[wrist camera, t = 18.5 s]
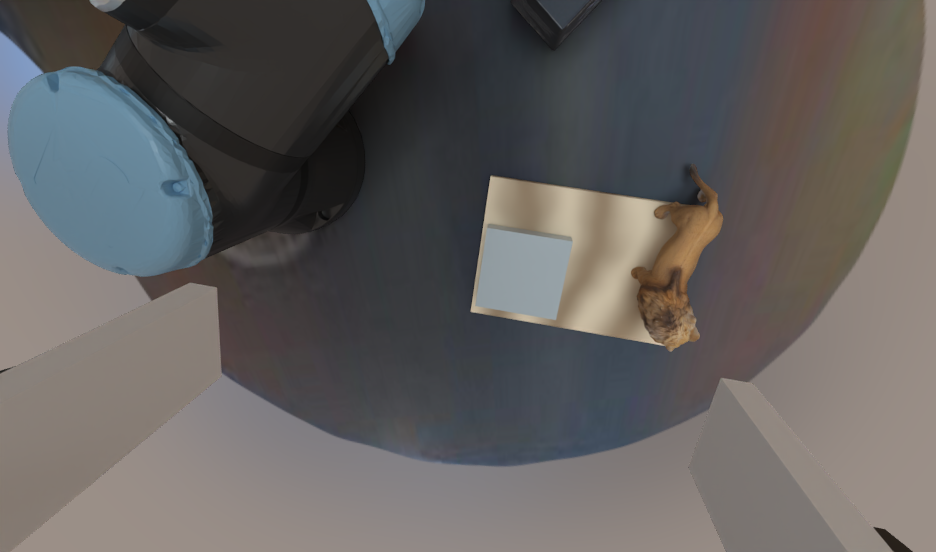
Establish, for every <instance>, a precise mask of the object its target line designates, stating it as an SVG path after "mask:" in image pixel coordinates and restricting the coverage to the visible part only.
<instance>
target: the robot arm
mask: <svg viewBox="0 0 936 552" xmlns="http://www.w3.org/2000/svg"><path fill="white" fill-rule="evenodd" d="M90 2H91V4H92V5H94V6H95V7H96V8H98V9H99V10H101V11H103V12H105V13H107V14H108V15H110V16H112V17H114V18H115V19H117V20H119V21H121V22H122V23H124V24H125V26H124V27H123V29H122V31H121V33H120V34H119V36H118V38H117V39H116V41H115V43H114V44H113V46H112V48H111V49H110V51H109V53H108V54H107V56H106V58H105V60H104V61H103V63H102V65H101V66H100V67H99V68H98V69H97V70H93V69H87V68H82V67H67V68H64V69H62V70H58V71H56V72H48V73H44V74H41V75H39V76H37V77H35V78H33V79H32V80H31V81H29V82H28V83H27V84H26V85H25V86H24V87H23V88H22V89H21V90H20V91H19V93H18V94H17V96H16V98H15V100H14V102H13V104H12V107H11V111H10V116H9V120H8V145H9V151H10V156H11V159H12V164H13V168H14V171H15V174H16V175H17V177H18V178H19V180H20V182H21V184H22V187H23V190H24V193H25V196H26V197H27V199H28V201H29V203H30V204H31V206H32V208H33V209H34V210H35V212H36V213H37V215H38V216H39V217H40V219H41V220H42V221H43V222H44V224H45V225H46V226H47V227H48V228H49V230H50V231H51V232H52V233H53V234H54V235H55V236H56V237H57V238H58V239H59V240H60V241H61V242H63V243H64V244H65V245H66V246H67V247H68V248H70V249H71V250H72V251H74V252H75V253H77V254H78V255H80V256H81V257H82V258H84V259H86V260H87V261H89V262H91V263H93V264H95V265H97V266H99V267H101V268H103V269H106V270H109V271H112V272H115V273H119V274H124V275H126V274H129V275H137V276H141V277H143V276H154V275H159V274H163V273H166V272H170V271H174V270H177V269H183V268H188V267H191V266H194V265H197V264H198V263H199V262H200V261H201V260H203V259H205V258H207V257H209V256H212V255H214V254H216V253H219V252H221V251H223V250H225V249H228V248H230V247H232V246H235V245H237V244H239V243H241V242H244V241H246V240H248V239H251V238H253V237H255V236H257V235H260V234H262V233H264V232H266V231H270V232H277V233H284V234H300V233H306V232H311V231H314V230H317V229H320V228H322V227H324V226H326V225H328V224H330V223H332V222H333V221H335V220H337V219H338V218H339V217H341V216H342V215H343V214H344V213H345V212H346V211H347V210H348V209H349V208H350V206H351V205H352V204H353V202H354V201H355V199H356V197H357V195H358V193H359V191H360V188H361V185H362V182H363V177H364V170H365V154H364V147H363V142H362V138H361V135H360V132H359V129H358V127H357V125H356V123H355V121H354V119H353V117H352V115H351V114H350V112H349V111H348V110H349V108H350V107H351V106H352V105H353V104H354V102H355V101H356V100H357V99H358V97H359V96H360V95H361V94H362V93H363V91H364V90H365V89H366V88H367V86H368V85H369V84H370V83H371V81H372V80H373V79H374V78H375V77H376V75H377V74H378V73H379V72H380V70H381V69H382V68H383V67H384V66H385V64H386V63H387V64H388V65H390V64H391V63H392V62H393V61H394V59H395V52H396V51H397V50H398V48H399V47H400V46H401V44H402V43H403V42H404V40H405V39H406V37H407V36H408V35H409V33H410V32H411V31H412V29H413V28H414V27H415V25H416V24H417V23H418V21H419V20H420V18H421V16H422V14H423V11H424V7H425V0H90ZM221 376H222V375H221V357H220V338H219V319H218V301H217V287H211V286H205V285H200V284H194V283H188V284H186V285H184V286H182V287H180V288H178V289H176V290H174V291H172V292H170V293H168V294H165V295H163V296H161V297H159V298H157V299H155V300H153V301H151V302H149V303H147V304H145V305H143V306H140V307H138V308H136V309H134V310H132V311H130V312H128V313H126V314H124V315H122V316H120V317H117V318H115V319H113V320H111V321H109V322H107V323H105V324H103V325H101V326H99V327H97V328H94V329H92V330H91V331H88V332H86V333H84V334H82V335H80V336H78V337H76V338H74V339H71V340H69V341H67V342H65V343H63V344H61V345H59V346H57V347H55V348H53V349H51V350H48V351H47V352H44V353H42V354H40V355H38V356H36V357H34V358H32V359H30V360H28V361H25V362H23V363H21V364H19V365H17V366H14V367H12V368H8V369H5V370H2V371H0V552H10V551H12V550H13V549H14V548H15V547H16V546H18V545H19V544H20V543H21V542H22V541H24V540H25V539H26V538H27V537H28V536H30V535H31V534H32V533H33V532H34V531H35V530H37V529H38V528H39V527H40V526H42V525H43V524H44V523H45V522H47V521H48V520H49V519H50V518H51V517H53V516H54V515H55V514H56V513H57V512H59V511H60V510H61V509H62V508H63V507H65V506H66V505H67V504H68V503H69V502H71V501H72V500H73V499H74V498H75V497H76V496H78V495H79V494H80V493H81V492H83V491H84V490H85V489H86V488H88V487H89V486H90V485H91V484H92V483H94V482H95V481H96V480H97V479H98V478H100V477H101V476H102V475H103V474H104V473H106V472H107V471H108V470H109V469H110V468H112V467H113V466H114V465H115V464H116V463H117V462H119V461H120V460H121V459H122V458H123V457H125V456H126V455H127V454H129V453H130V452H131V451H132V450H133V449H135V448H136V447H137V446H138V445H139V444H140V443H142V442H143V441H144V440H145V439H147V438H148V437H149V436H150V435H151V434H153V433H154V432H155V431H156V430H158V429H159V428H160V427H161V426H162V425H163V424H165V423H166V422H167V421H168V420H170V419H171V418H172V417H173V416H174V415H175V414H177V413H178V412H179V411H180V410H182V409H183V408H184V407H185V406H186V405H188V404H189V403H190V402H191V401H192V400H194V399H195V398H196V397H197V396H198V395H200V394H201V393H202V392H203V391H205V390H206V389H207V388H208V387H209V386H211V385H212V384H213V383H214V382H215V381H217V380H218V379H219V378H220V377H221ZM688 468H689V470H690V473H691V475H692V477H693V479H694V481H695V484H696V486H697V488H698V490H699V493H700V495H701V497H702V499H703V502H704V504H705V506H706V508H707V511H708V513H709V515H710V517H711V519H712V522H713V524H714V526H715V528H716V531H717V533H718V535H719V537H720V540H721V542H722V544H723V546H724V548H725V551H726V552H912V551H911V550H910V549H909V548H907V547H906V546H905V545H904V544H903V543H901V542H900V541H899V540H898V539H896V538H895V537H894V536H892V535H891V534H890V533H889V532H888V531H886V530H885V529H881V528H875V527H872V526H871V524H870V523H869V522H868V521H867V520H866V518H865V517H864V516H863V515H862V513H861V512H860V511H859V510H858V509H857V507H856V506H855V505H854V504H853V503H852V502H851V500H850V499H849V498H848V497H847V496H846V494H845V493H844V492H843V491H842V490H841V488H840V487H839V486H838V485H837V484H836V482H835V481H834V480H833V479H832V478H831V476H830V475H829V474H828V473H827V472H826V470H825V469H824V468H823V467H822V466H821V464H820V463H819V462H818V461H817V460H816V458H815V457H814V456H813V455H812V454H811V452H810V451H809V450H808V449H807V448H806V447H805V445H804V444H803V443H802V442H801V440H800V439H799V438H798V437H797V436H796V435H795V433H794V432H793V431H792V430H791V428H790V427H789V426H788V425H787V424H786V422H785V421H784V420H783V419H782V418H781V417H780V415H779V414H778V413H777V412H776V411H775V409H774V408H773V407H772V406H771V404H770V403H769V402H768V401H767V400H766V399H765V397H764V396H763V395H762V394H761V392H760V391H759V390H758V389H757V388H756V386H755V385H754V384H753V383H747V382H741V381H736V380H730V379H725V378H721V379H720V381H719V384H718V387H717V390H716V392H715V395H714V398H713V401H712V403H711V406H710V409H709V412H708V414H707V417H706V420H705V423H704V425H703V428H702V431H701V434H700V437H699V439H698V442H697V445H696V447H695V451H694V453H693V456H692V459H691V462H690V464H689V467H688Z"/></svg>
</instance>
